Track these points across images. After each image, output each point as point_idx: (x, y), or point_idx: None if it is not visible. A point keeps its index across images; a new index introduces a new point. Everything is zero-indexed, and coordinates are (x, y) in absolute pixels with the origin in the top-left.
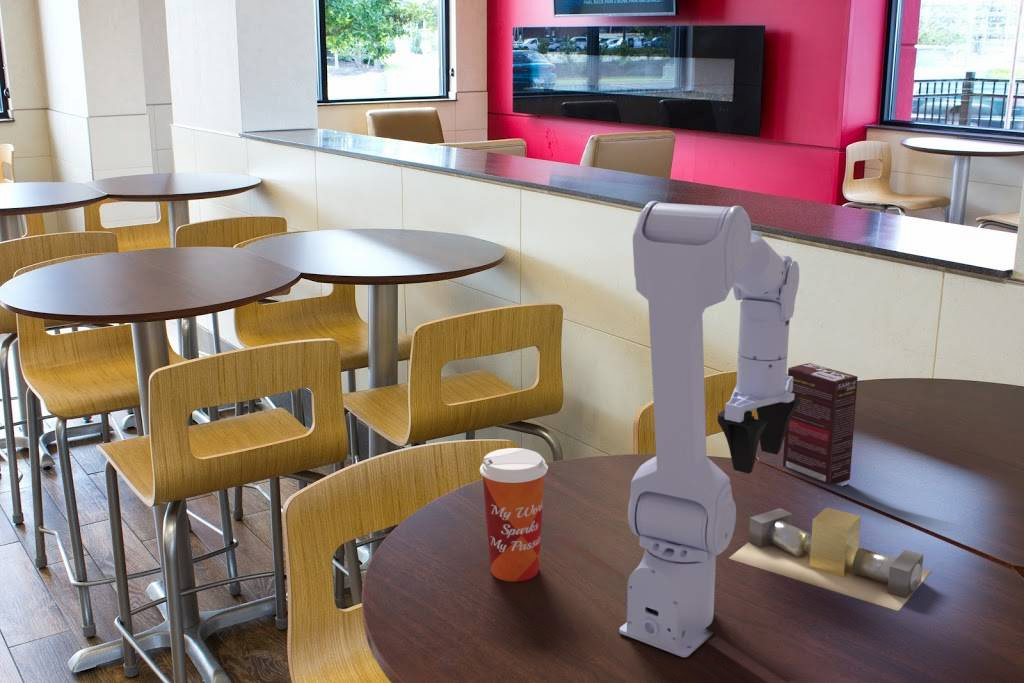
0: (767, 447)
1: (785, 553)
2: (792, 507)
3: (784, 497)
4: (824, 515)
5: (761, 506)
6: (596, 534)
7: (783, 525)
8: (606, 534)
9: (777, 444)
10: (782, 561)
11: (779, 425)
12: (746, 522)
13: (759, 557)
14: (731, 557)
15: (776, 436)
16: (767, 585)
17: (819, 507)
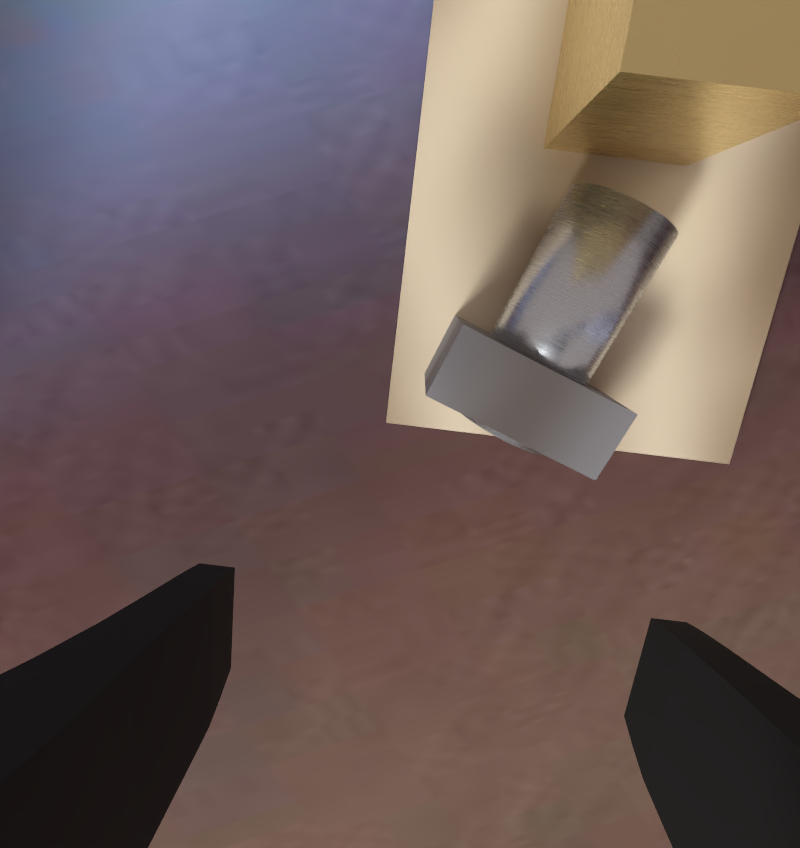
0: (220, 658)
1: None
2: (112, 407)
3: (47, 458)
4: (762, 43)
5: (174, 505)
6: (644, 839)
7: (590, 326)
8: (632, 819)
9: (203, 615)
10: (673, 281)
11: (91, 756)
12: (332, 508)
13: (676, 369)
14: (716, 456)
15: (164, 675)
16: (788, 291)
17: (46, 317)
